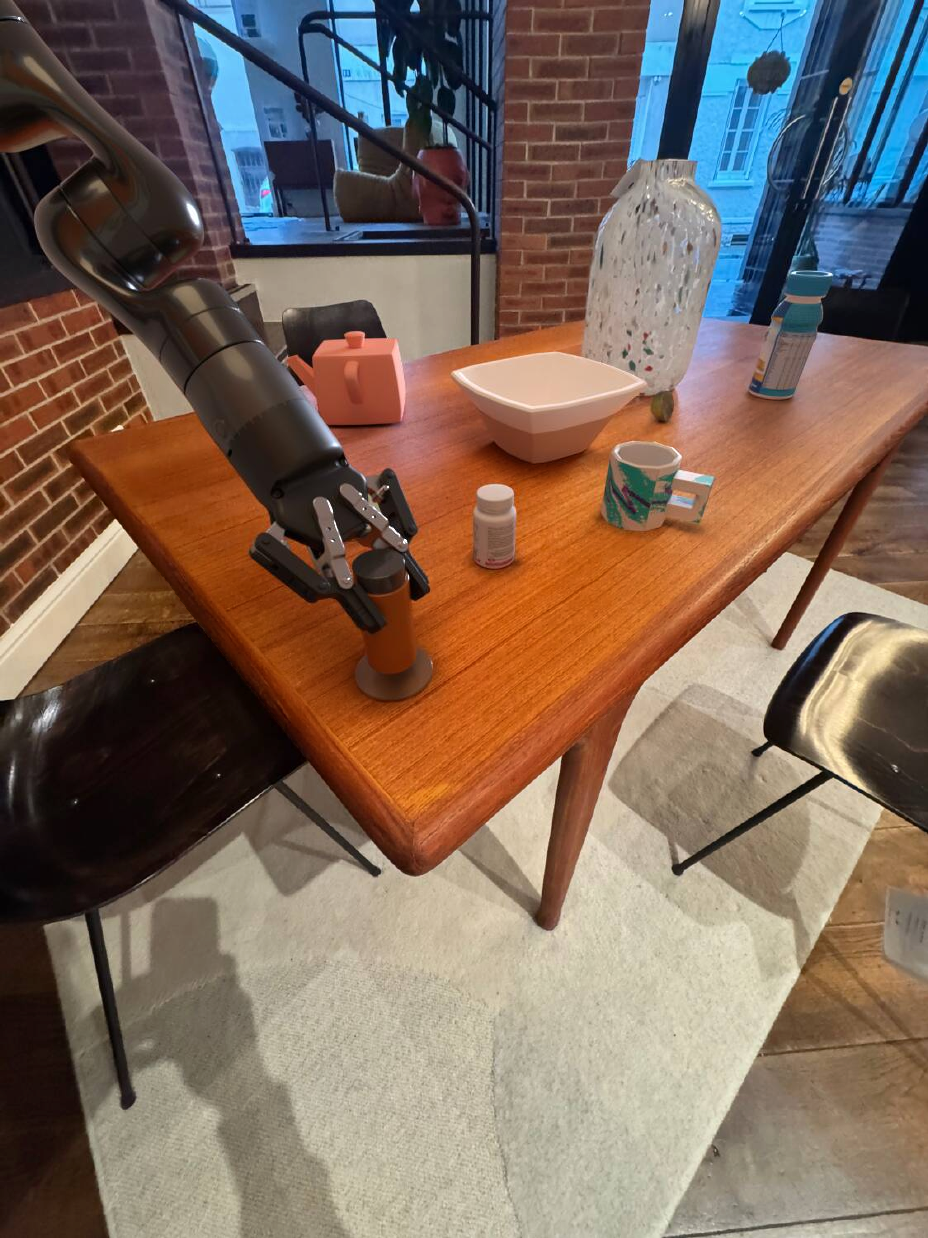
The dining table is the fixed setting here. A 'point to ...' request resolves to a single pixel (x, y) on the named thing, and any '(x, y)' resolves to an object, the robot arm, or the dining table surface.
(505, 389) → the bowl
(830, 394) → the dining table surface
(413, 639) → the spice bottle
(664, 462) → the mug
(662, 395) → the lime
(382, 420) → the teapot
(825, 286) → the beverage bottle
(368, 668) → the coaster
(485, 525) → the pill bottle
